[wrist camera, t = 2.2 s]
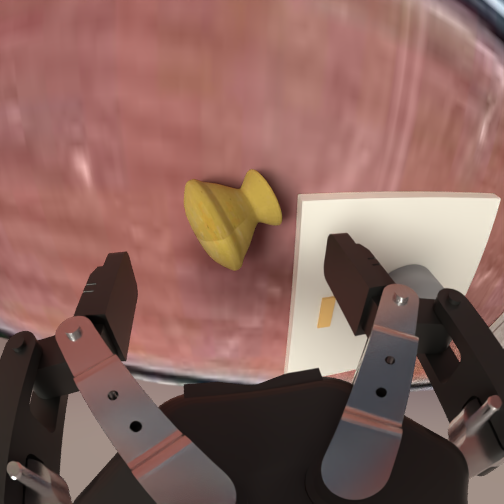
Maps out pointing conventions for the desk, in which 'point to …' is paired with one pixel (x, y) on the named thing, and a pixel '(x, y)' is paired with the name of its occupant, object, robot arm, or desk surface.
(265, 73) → the desk surface
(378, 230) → the hub plate
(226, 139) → the desk surface
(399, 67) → the desk surface
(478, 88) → the desk surface
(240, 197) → the knob
